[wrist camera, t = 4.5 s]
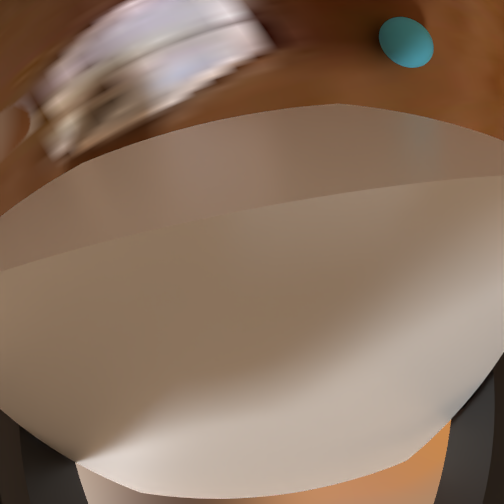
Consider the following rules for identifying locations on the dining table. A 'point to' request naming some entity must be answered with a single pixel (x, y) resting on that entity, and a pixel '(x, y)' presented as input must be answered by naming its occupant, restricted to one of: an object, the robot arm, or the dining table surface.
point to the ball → (406, 42)
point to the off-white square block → (256, 299)
